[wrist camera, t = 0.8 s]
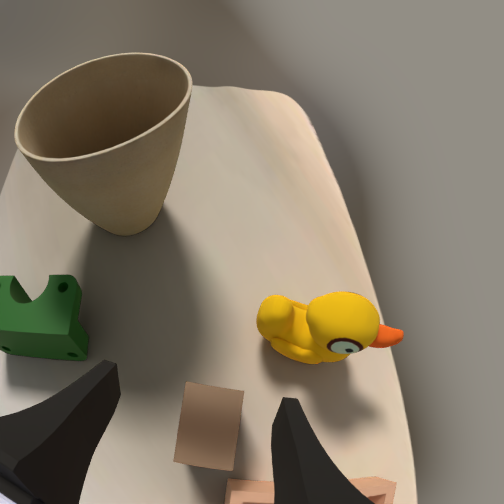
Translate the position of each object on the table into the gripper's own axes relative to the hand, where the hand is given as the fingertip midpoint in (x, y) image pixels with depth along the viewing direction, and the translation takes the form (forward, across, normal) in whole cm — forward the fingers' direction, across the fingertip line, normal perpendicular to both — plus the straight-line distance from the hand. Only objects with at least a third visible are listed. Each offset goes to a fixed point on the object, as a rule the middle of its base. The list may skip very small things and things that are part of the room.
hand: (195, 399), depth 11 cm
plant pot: (+23, +13, -1) cm, 26 cm away
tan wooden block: (+8, 0, +12) cm, 15 cm away
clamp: (+12, +18, +9) cm, 23 cm away
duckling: (+16, -8, +7) cm, 19 cm away
